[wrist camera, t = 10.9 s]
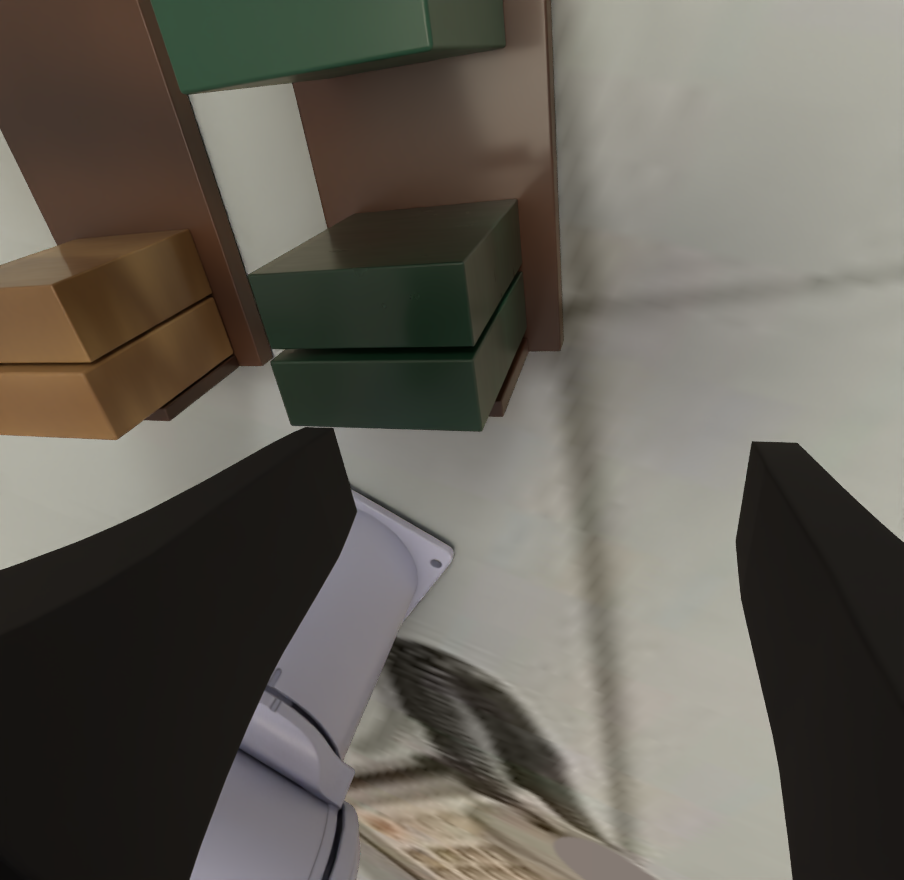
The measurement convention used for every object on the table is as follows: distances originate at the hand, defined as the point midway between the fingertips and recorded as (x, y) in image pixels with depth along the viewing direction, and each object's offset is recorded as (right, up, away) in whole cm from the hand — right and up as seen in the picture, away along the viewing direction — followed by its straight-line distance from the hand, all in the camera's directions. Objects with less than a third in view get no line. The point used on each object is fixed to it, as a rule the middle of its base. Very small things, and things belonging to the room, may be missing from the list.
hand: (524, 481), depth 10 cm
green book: (-2, +11, +4) cm, 12 cm away
